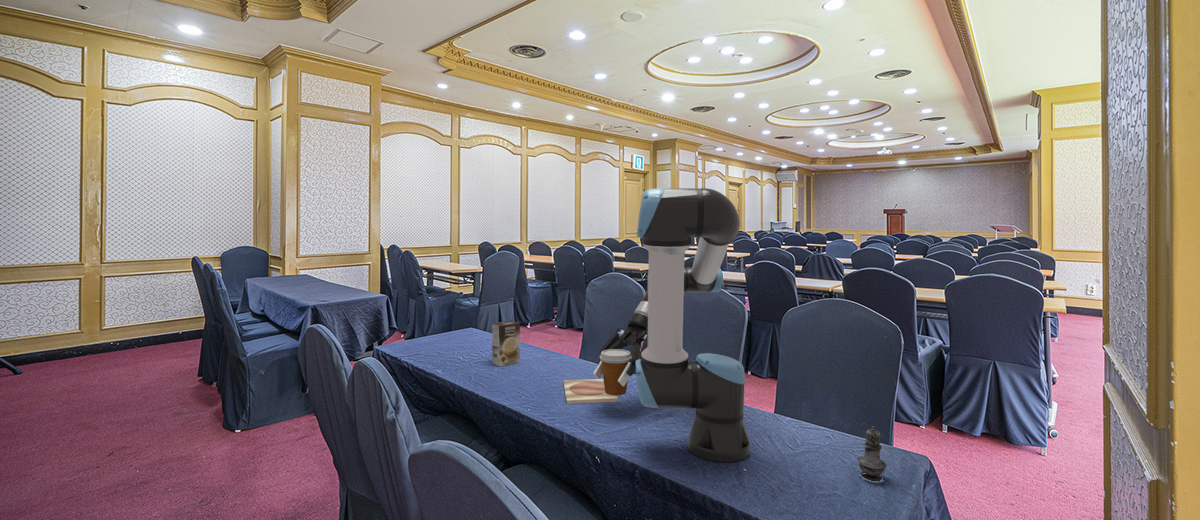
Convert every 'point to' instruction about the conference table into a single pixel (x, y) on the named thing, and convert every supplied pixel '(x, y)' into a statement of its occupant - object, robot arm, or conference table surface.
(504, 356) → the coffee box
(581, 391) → the birch board
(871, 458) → the dark grey chess piece
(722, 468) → the conference table surface
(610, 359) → the disposable coffee cup
